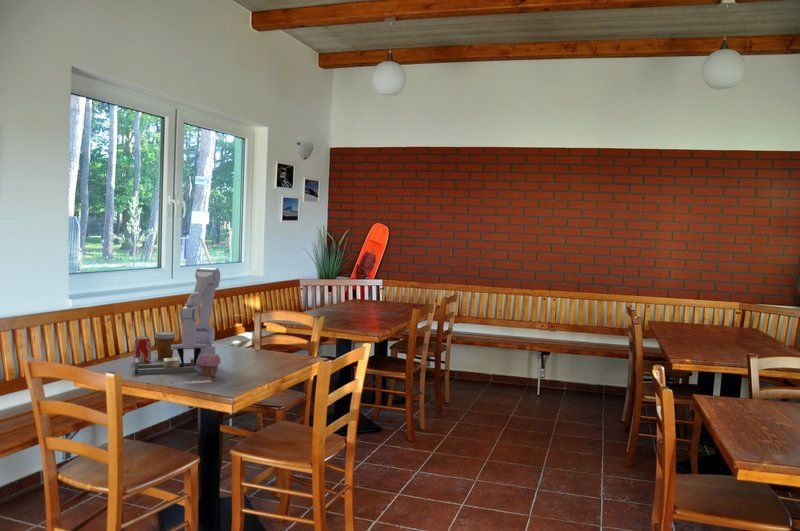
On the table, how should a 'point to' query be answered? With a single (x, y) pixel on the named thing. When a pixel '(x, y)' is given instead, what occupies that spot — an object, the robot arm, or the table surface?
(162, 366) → the lane
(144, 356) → the soda can
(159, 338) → the disposable coffee cup
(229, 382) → the table surface
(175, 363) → the block
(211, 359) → the cupcake
